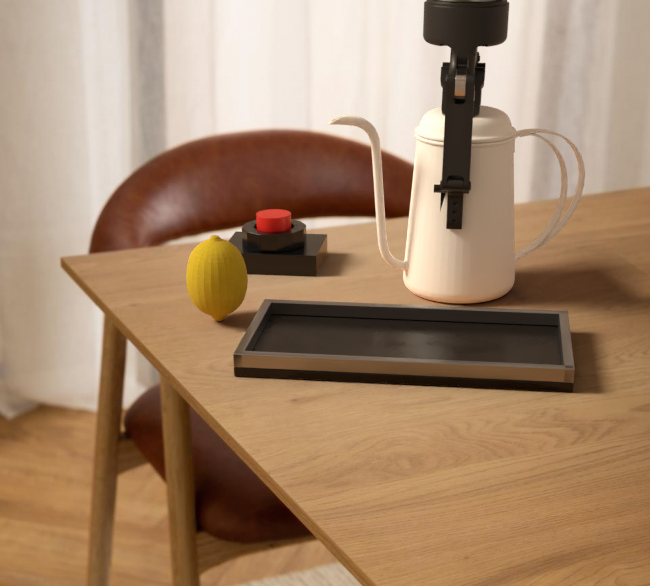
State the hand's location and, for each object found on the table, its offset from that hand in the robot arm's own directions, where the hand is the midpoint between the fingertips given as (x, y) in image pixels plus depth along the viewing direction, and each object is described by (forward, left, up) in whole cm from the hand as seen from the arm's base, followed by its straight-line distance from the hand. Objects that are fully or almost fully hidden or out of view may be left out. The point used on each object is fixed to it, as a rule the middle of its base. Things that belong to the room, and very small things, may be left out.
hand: (455, 245), depth 115 cm
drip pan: (+3, +18, -4) cm, 19 cm away
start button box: (+19, -6, -4) cm, 20 cm away
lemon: (+21, +12, -4) cm, 25 cm away
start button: (+19, -6, -1) cm, 20 cm away
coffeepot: (0, +1, -4) cm, 4 cm away
